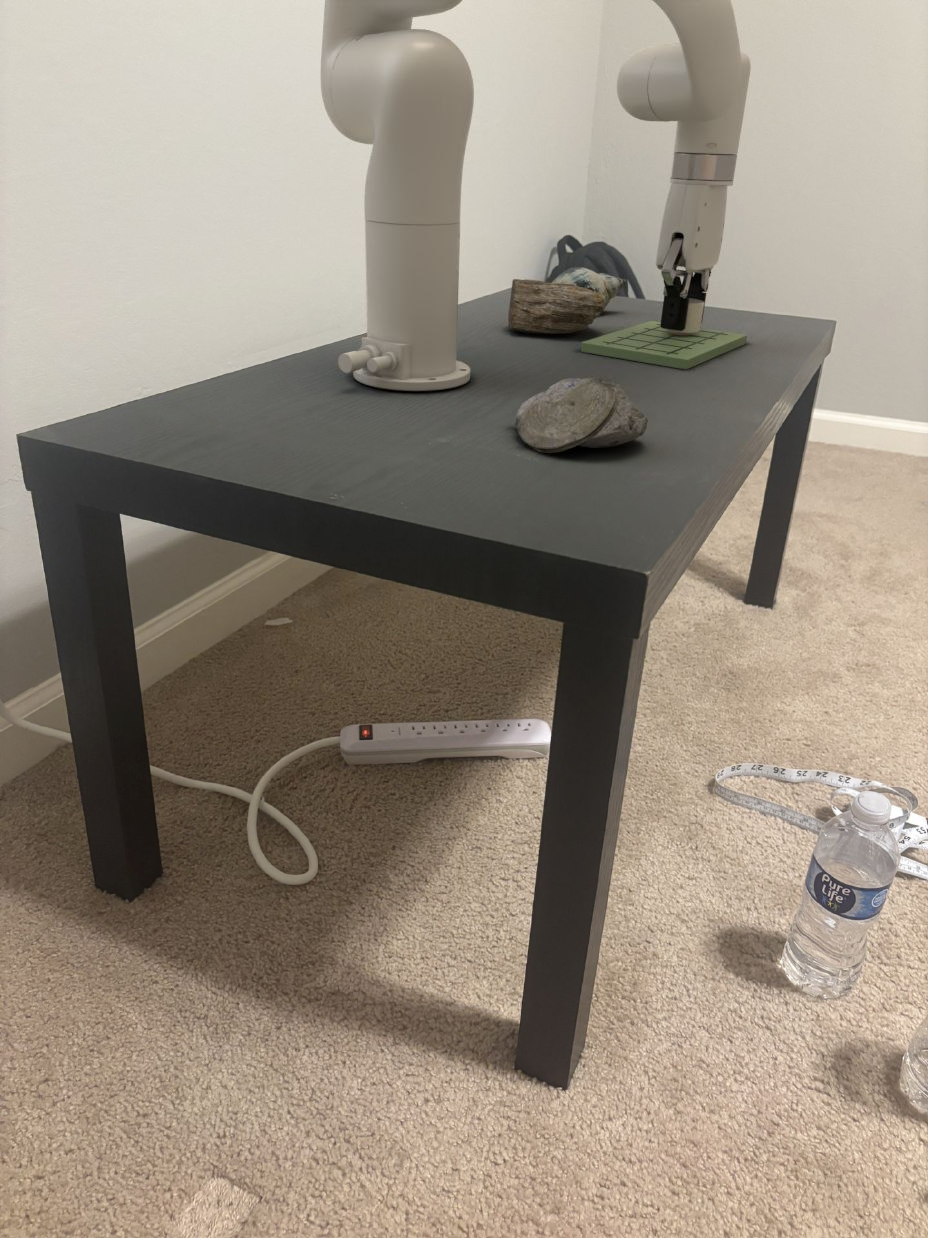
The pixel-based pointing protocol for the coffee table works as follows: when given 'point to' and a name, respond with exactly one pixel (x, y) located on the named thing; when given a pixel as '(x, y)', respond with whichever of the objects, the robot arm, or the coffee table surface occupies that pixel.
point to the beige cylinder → (693, 316)
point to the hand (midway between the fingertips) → (681, 324)
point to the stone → (552, 307)
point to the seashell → (592, 281)
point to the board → (664, 345)
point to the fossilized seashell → (579, 416)
